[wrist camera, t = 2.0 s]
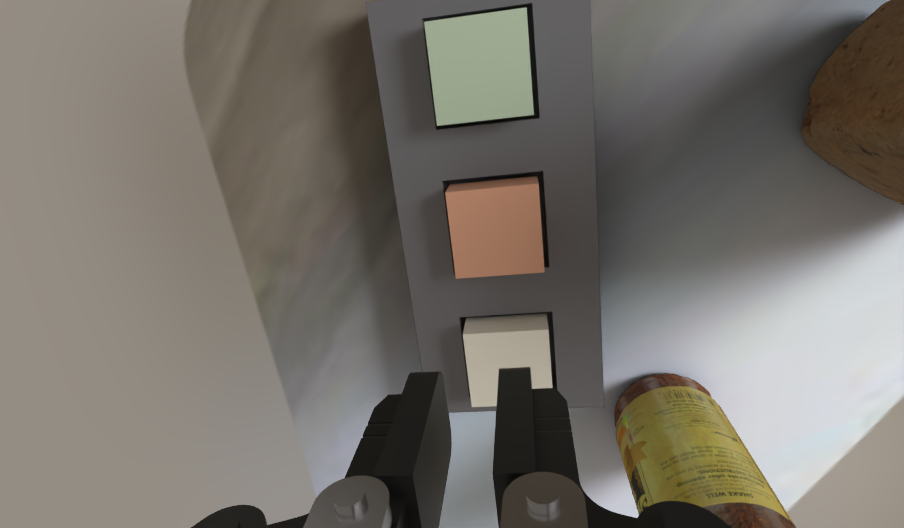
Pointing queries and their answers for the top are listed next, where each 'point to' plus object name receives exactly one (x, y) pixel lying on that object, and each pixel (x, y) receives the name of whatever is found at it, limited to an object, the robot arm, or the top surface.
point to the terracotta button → (495, 227)
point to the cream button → (505, 352)
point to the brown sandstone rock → (863, 104)
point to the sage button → (480, 66)
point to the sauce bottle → (691, 454)
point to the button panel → (493, 158)
